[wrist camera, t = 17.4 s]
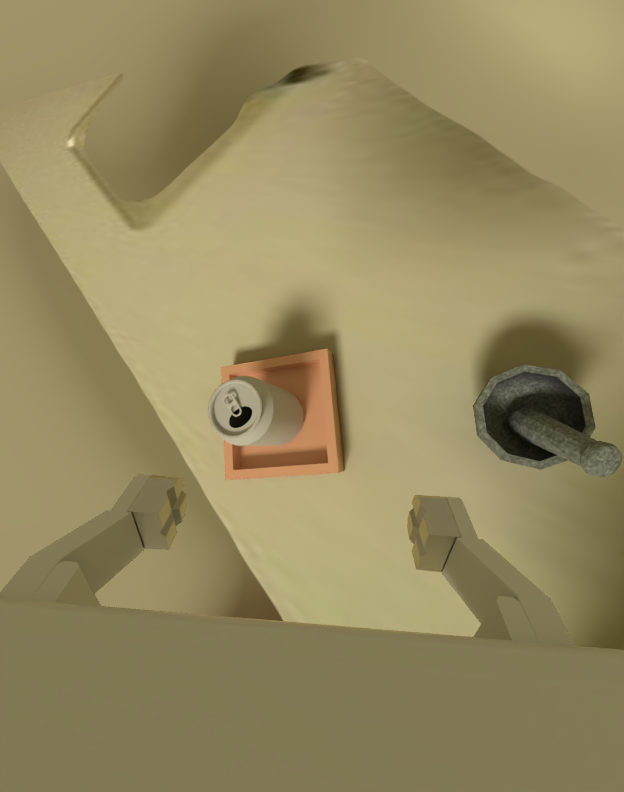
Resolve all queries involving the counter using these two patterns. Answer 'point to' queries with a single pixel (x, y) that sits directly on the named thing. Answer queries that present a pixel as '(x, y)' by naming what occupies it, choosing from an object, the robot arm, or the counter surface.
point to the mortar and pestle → (541, 421)
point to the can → (254, 413)
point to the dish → (320, 428)
